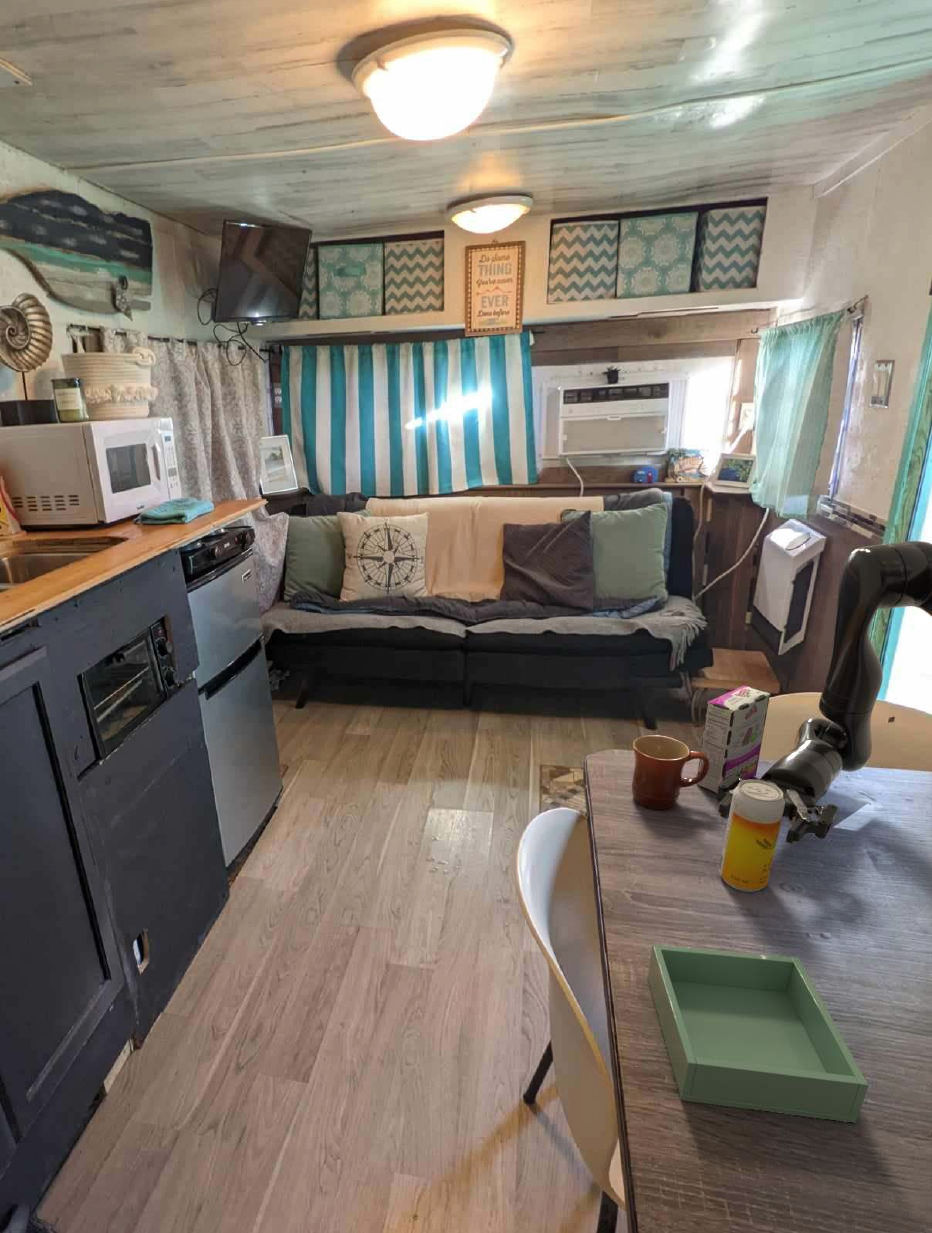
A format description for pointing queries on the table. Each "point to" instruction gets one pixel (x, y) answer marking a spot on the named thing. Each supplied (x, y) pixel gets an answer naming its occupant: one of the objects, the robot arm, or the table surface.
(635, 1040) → the table surface
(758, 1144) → the table surface
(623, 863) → the table surface
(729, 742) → the candy bar box
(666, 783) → the mug
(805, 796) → the robot arm
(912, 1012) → the table surface
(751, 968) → the green serving tray
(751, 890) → the beer can
